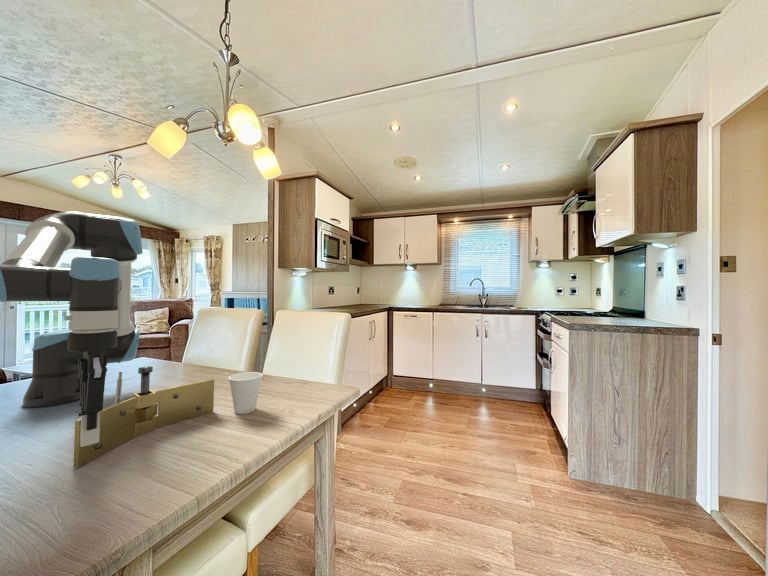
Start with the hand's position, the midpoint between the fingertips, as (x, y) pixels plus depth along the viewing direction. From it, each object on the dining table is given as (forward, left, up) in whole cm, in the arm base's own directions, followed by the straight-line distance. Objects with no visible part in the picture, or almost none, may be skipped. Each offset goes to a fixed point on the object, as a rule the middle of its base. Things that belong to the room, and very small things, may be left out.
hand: (89, 443), depth 62 cm
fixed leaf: (-13, +20, -5) cm, 24 cm away
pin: (-13, +12, 0) cm, 17 cm away
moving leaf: (-8, +6, -5) cm, 11 cm away
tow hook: (-33, +13, -6) cm, 36 cm away
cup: (-6, +36, -6) cm, 37 cm away
